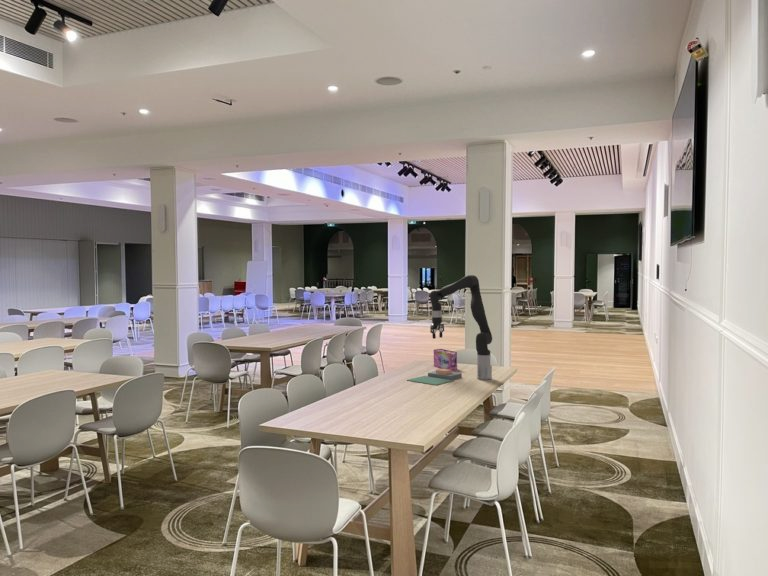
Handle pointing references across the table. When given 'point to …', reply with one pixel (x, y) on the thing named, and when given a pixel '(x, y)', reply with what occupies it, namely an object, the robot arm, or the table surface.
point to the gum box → (445, 359)
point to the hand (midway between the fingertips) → (437, 338)
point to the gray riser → (448, 376)
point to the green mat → (430, 380)
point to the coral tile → (443, 371)
